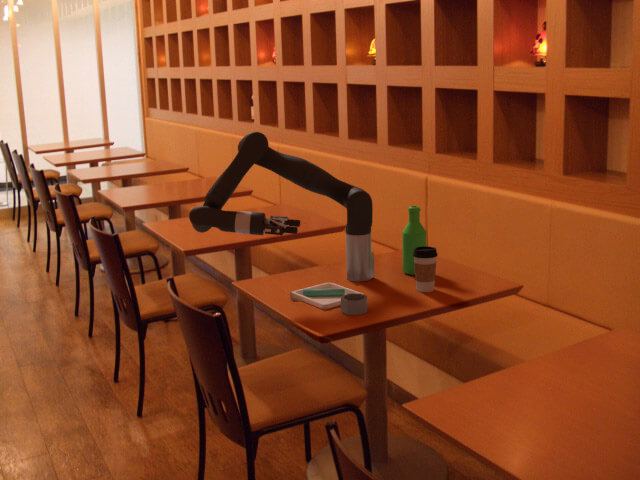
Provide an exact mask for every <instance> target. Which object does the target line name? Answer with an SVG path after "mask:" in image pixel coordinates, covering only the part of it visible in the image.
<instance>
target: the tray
mask: <svg viewBox="0 0 640 480" xmlns="http://www.w3.org/2000/svg"><path fill="white" fill-rule="evenodd" d="M303 289H345V295H346V294H350V293H361V294H364V295H366V294H365V293H362V292H359V291H357V290H354V289H351V288H348V287H346V286H342V285H339V284H338V283H334V282H332V281H329V282H323V283H320V284H316V285H312V286H308V287H304V288H300V289H296V290H292V291H289V295H290V296H289V297H290V298H289V299H290V300H292V301H295V302H297V303H299V302H303V303H306V304H308V305H311V306H314V307H315V308H319V309H322V311H323V310H324V311H325V310H328V309H331V308H335V307H338V306H341V297H342V296H303Z"/></svg>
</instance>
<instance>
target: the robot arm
mask: <svg viewBox="0 0 640 480" xmlns="http://www.w3.org/2000/svg"><path fill="white" fill-rule="evenodd" d="M254 165H257V166H259V167H262V168H265V169H267V170H269V171H270V172H273V173H274V174H275V175H278V176H280V177H282V178H283V179H285V180H287V181H289V182H291V183H292V184H294V185H296V186H299V187H301V188H302V189H304V190H307V191H309V192H312V193H315V194H318V195H321V196H323V197H327V198H328V199H331V200H333V201H335V202H337V204H340V205H341V206H342V207H344V208H345V209H346V225H345V254H346V255H345V257H346V280H348V281H351V282H355V283H357V282H359V283H361V282H368V281H370V280H372V279H373V278H375V253H374V252H373V250H372V249H373V248H372V226H373V211H374V210H373V207H374V206H373V199H372V196H371V195H370V193H368V192H367V191H366V190H364V189H363V188H361V187H358V186H356V185H353V184H349V183H347V182H345V181H342V180H341V179H338V178H336V177H335V176H333V175H332V174H331V173H329V172H328V171H326V170H325V169H323V168H322V167H320V166H318V165H317V164H314V163H312V162H311V161H308V160H307V159H304V158H301V157H299V156H295V155H290V154H287V153H286V154H285V153H282V152H279V151H277V150H275V149H274V148H272V147H270V146H269V141H268V137H267V136H266V135H265V134H264V133H263V132H261V131H260V132H259V131H251V132H249V133H247V134H246V135H244V136H243V137H242V138H241V139H240V141H239V143H238V144H237V154H236V156H235V157H234V159H232V161H231V163H230V164H228V166H227V168H225V170H224V171H223V172H222V173H221V174H220V175H219V176H218V178H217V179H216V180H215V182H214V183H213V185H212V186H211V187H210V188H209V189H208V191H207V193H206V195H205V196H204V203H203V204H202V205H197V206H194V207H192V209H191V210H190V211H189V214H188V219H189V221H190V223H191V225H192V228H193V230H194V231H196V232H198V233H206V232H207V233H208V231H210V230H211V229H212V228H216V229H218V230H219V231H221V232H225V233H236V234H240V235H241V234H242V235H252V236H253V235H254V236H264V235H274V236H283V235H286V234H293V235H296V234H298V232H299V231H298V230H299V227H301V220H300V219H291V218H289V217H288V216H284V215H283V216H282V215H270V218H267V217H266V213H265V212H259V211H248V210H247V211H244V210H243V211H235V210H234V211H233V210H222V209H223V208H224V207H225V205H226V204H227V202H228V201H229V200H230V198H231V197H232V195H233V193H234V192H235V190H236V189H237V188H238V186H239V184H240V183H241V182H242V180H243V179H244V177H245V176H246V174H247V173H248V172H249V171H250V170H251V169H252V168H253V166H254Z"/></svg>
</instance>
